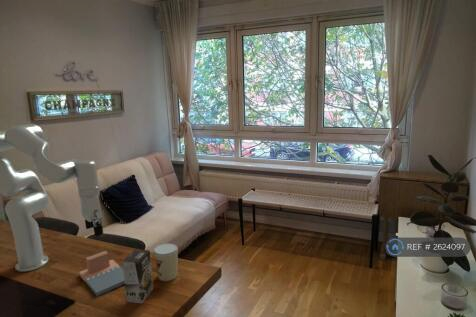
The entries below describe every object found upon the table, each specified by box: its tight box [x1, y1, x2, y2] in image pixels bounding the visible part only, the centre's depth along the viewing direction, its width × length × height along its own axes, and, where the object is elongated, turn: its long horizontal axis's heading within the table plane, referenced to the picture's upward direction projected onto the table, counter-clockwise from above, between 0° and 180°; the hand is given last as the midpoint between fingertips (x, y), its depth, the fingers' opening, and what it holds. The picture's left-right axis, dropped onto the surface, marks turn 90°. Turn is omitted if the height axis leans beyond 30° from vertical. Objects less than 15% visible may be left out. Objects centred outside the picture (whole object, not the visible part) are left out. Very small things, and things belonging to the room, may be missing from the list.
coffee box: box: [122, 249, 154, 304], centre depth 120 cm, size 9×6×16 cm
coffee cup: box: [153, 242, 179, 282], centre depth 132 cm, size 9×9×12 cm
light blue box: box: [84, 265, 125, 297], centre depth 130 cm, size 12×14×2 cm
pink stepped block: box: [78, 250, 120, 284], centre depth 137 cm, size 7×14×8 cm, turn 133°
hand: (94, 231), depth 134 cm, fingers open, 9 cm apart
